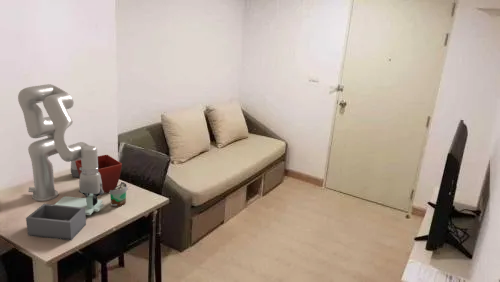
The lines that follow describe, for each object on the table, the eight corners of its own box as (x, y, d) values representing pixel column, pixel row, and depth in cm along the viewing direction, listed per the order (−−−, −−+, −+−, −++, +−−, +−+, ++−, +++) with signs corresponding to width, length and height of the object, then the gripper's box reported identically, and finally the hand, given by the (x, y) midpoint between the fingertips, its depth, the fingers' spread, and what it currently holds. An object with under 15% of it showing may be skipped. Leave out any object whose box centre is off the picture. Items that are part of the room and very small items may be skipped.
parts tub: (27, 235, 177) (25, 218, 174) (45, 220, 190) (43, 203, 187) (71, 240, 176) (70, 222, 173) (86, 224, 189) (84, 207, 186)
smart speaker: (73, 172, 246) (72, 151, 242) (89, 172, 247) (88, 151, 243) (68, 178, 237) (67, 156, 233) (84, 178, 238) (83, 157, 234)
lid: (49, 212, 195) (47, 197, 193) (64, 200, 209) (63, 185, 207) (94, 217, 194) (93, 202, 192) (106, 204, 208) (106, 189, 206)
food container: (120, 209, 205) (120, 192, 202) (109, 207, 206) (109, 190, 203) (132, 199, 217) (131, 183, 214) (121, 198, 218) (121, 181, 215)
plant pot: (76, 187, 226) (74, 160, 221) (108, 180, 239) (107, 154, 234) (90, 200, 213) (88, 171, 208) (123, 191, 226) (122, 164, 221)
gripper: (70, 171, 192) (73, 206, 197) (102, 175, 191) (104, 209, 197) (78, 166, 199) (80, 199, 204) (109, 169, 198) (110, 202, 204)
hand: (92, 203), depth 200 cm, fingers closed on lid
